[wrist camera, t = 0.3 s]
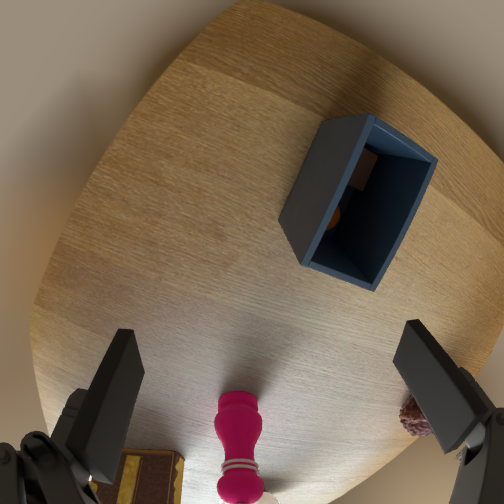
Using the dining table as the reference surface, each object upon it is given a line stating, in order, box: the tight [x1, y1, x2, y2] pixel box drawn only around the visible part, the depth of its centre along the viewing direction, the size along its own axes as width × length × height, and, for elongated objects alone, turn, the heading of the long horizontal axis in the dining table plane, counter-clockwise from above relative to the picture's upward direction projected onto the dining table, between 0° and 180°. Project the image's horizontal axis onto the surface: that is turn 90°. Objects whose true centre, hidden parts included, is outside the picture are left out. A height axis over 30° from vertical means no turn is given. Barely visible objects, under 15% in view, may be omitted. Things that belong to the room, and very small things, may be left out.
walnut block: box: [347, 148, 378, 191], centre depth 28 cm, size 4×4×4 cm
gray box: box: [278, 113, 438, 292], centre depth 25 cm, size 7×12×12 cm, turn 158°
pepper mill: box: [214, 391, 264, 504], centre depth 33 cm, size 7×7×20 cm
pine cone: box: [399, 395, 433, 436], centre depth 43 cm, size 18×10×10 cm
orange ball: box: [325, 205, 340, 231], centre depth 30 cm, size 4×4×4 cm
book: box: [88, 448, 185, 504], centre depth 38 cm, size 22×8×25 cm, turn 100°
